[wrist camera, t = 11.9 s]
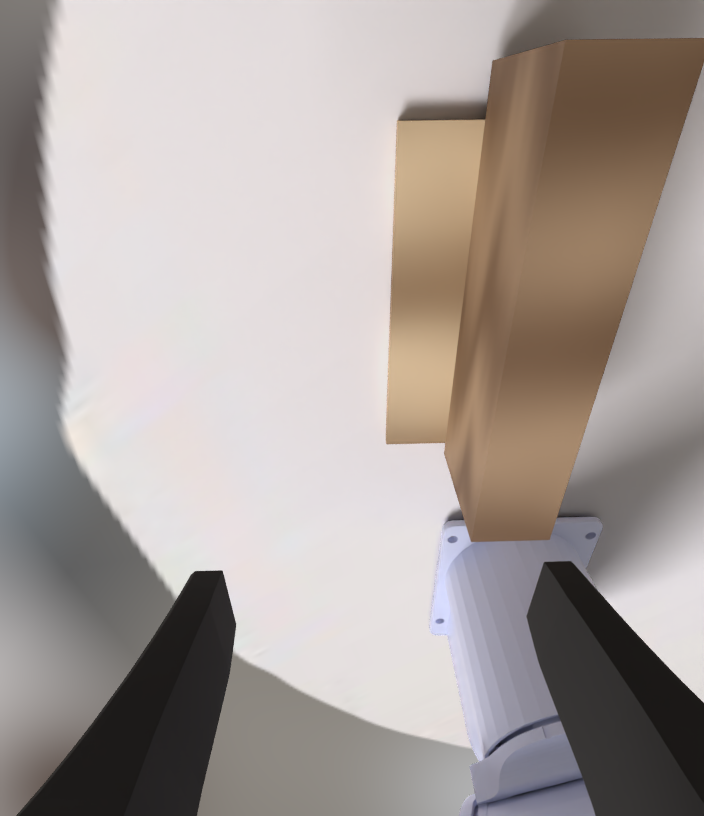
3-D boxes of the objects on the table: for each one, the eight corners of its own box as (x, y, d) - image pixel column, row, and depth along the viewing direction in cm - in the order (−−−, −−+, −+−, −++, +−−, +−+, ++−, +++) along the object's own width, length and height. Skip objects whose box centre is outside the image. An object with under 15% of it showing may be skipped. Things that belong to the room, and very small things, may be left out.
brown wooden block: (506, 452, 21) (549, 539, 16) (444, 453, 21) (470, 542, 16) (591, 59, 13) (711, 37, 9) (492, 60, 13) (565, 39, 9)
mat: (565, 434, 21) (568, 439, 20) (385, 438, 21) (386, 443, 20) (659, 116, 14) (666, 117, 14) (397, 120, 14) (398, 120, 14)
